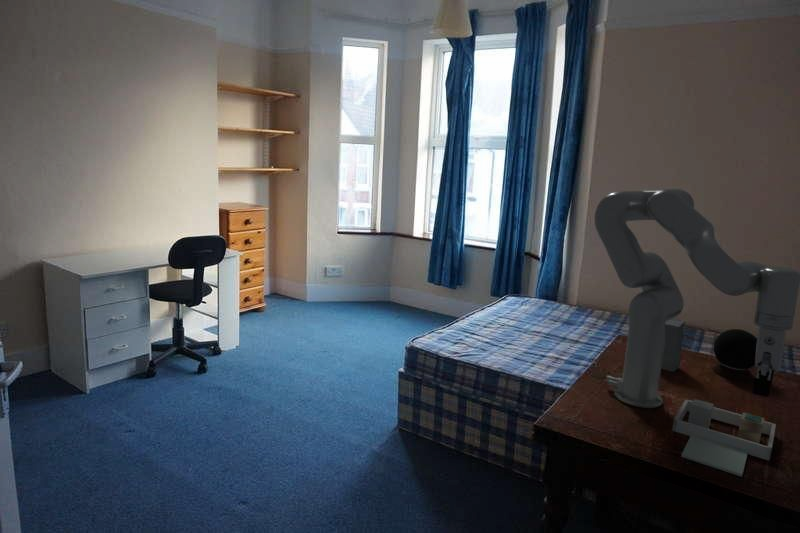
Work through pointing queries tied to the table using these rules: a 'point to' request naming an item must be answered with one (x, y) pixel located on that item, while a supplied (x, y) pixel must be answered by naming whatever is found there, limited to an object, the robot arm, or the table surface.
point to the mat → (715, 455)
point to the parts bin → (723, 438)
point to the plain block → (700, 413)
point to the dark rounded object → (735, 354)
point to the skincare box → (672, 345)
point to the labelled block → (750, 427)
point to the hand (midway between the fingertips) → (762, 388)
